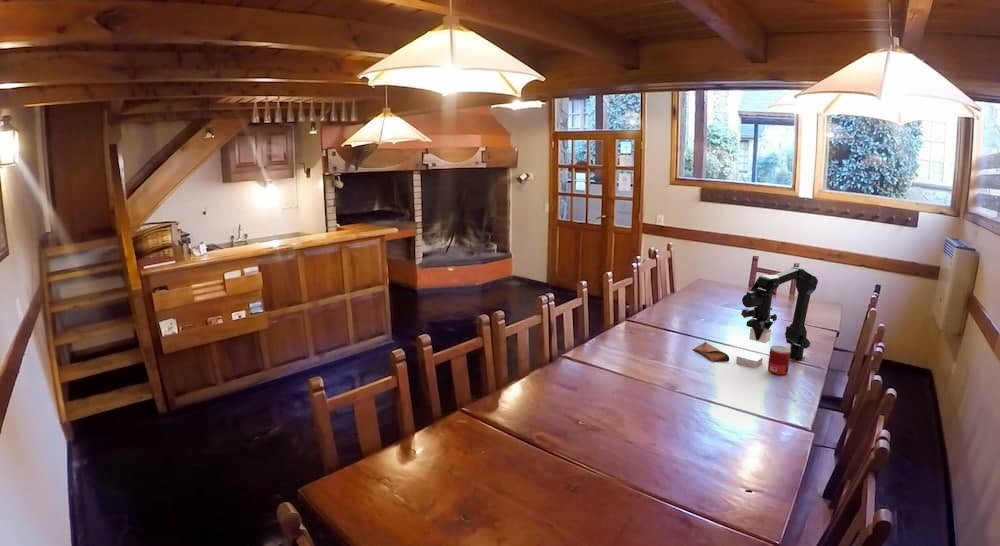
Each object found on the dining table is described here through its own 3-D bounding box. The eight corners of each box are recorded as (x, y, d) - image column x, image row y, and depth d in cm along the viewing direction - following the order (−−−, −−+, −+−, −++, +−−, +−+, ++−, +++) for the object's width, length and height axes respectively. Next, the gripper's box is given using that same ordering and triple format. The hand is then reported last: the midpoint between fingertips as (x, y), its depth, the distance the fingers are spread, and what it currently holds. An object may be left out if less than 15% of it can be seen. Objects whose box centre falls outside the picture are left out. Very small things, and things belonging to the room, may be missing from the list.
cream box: (753, 336, 266) (755, 325, 265) (769, 340, 261) (771, 329, 260) (749, 339, 262) (750, 328, 261) (765, 343, 257) (766, 332, 256)
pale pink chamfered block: (742, 358, 273) (742, 352, 273) (762, 363, 267) (762, 357, 266) (736, 362, 268) (736, 356, 268) (756, 367, 262) (756, 361, 262)
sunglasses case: (690, 348, 284) (697, 337, 283) (700, 354, 286) (707, 342, 286) (713, 363, 267) (721, 350, 267) (724, 369, 270) (731, 356, 269)
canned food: (789, 376, 253) (792, 352, 251) (769, 375, 255) (772, 351, 252) (784, 369, 260) (788, 346, 258) (765, 368, 262) (768, 344, 259)
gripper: (754, 296, 270) (750, 329, 273) (736, 305, 257) (732, 339, 261) (779, 302, 262) (775, 335, 266) (762, 310, 249) (758, 345, 253)
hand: (759, 338), depth 261 cm, fingers closed on cream box, 5 cm apart
